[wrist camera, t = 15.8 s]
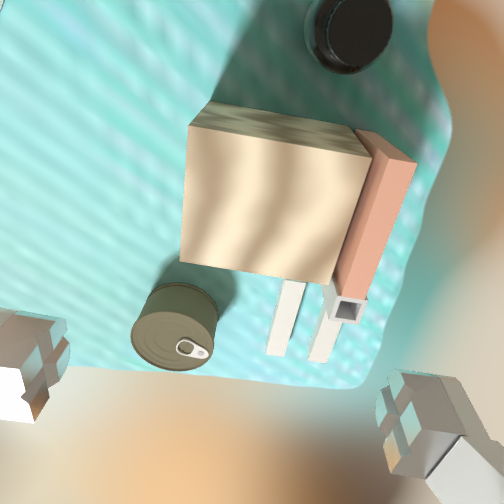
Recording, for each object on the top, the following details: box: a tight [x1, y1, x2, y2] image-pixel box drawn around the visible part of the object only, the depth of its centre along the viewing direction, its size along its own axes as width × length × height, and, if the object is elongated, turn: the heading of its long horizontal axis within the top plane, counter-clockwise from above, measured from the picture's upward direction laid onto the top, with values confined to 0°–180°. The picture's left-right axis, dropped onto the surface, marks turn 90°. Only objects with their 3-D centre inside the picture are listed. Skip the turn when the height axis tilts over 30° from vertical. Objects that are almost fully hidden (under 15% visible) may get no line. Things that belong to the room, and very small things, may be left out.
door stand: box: [266, 278, 342, 363], centre depth 56 cm, size 10×15×2 cm, turn 171°
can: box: [130, 283, 218, 371], centre depth 55 cm, size 12×12×7 cm
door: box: [321, 129, 418, 325], centre depth 39 cm, size 4×17×13 cm, turn 171°
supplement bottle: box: [303, 0, 394, 75], centre depth 32 cm, size 7×7×12 cm
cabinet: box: [180, 101, 372, 285], centre depth 41 cm, size 20×17×12 cm
